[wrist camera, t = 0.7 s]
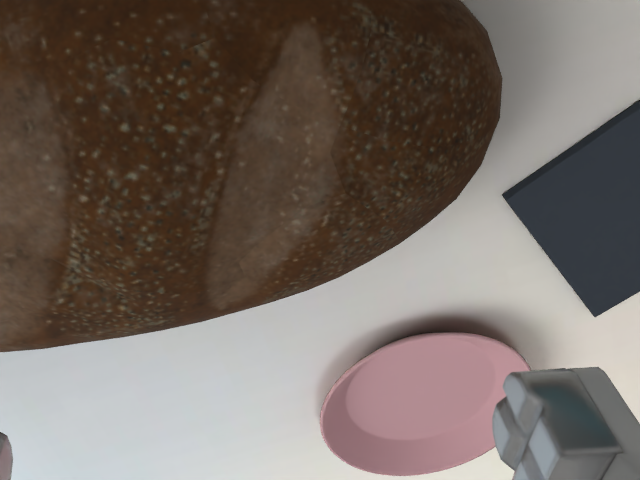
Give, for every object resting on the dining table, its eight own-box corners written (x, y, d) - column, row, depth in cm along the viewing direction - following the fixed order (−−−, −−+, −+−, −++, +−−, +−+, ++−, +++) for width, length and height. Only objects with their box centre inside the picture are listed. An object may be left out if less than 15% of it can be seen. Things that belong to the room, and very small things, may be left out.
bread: (472, 214, 31) (536, 322, 25) (-202, 326, 31) (-328, 469, 24) (486, -123, 22) (594, -99, 15) (-477, 25, 21) (-810, 119, 15)
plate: (324, 314, 35) (328, 338, 33) (548, 308, 37) (563, 330, 35) (310, 457, 43) (313, 482, 41) (494, 446, 45) (504, 470, 43)
